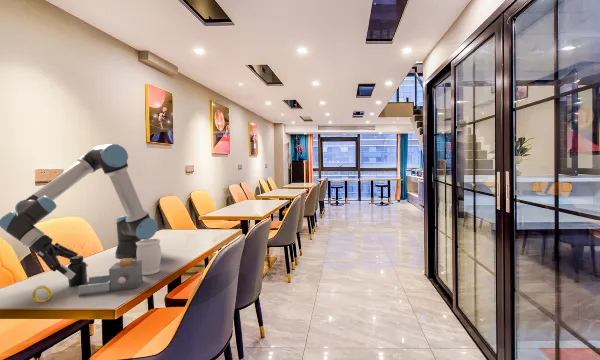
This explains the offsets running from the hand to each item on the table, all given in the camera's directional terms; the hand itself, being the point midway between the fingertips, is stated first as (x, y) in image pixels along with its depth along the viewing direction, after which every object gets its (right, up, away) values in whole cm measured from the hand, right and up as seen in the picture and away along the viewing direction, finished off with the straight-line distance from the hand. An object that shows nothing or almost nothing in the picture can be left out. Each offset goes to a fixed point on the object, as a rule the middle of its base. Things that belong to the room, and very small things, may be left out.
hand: (80, 272), depth 145 cm
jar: (+25, -4, +13) cm, 28 cm away
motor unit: (+18, -5, -7) cm, 19 cm away
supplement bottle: (-1, -6, 0) cm, 6 cm away
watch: (-3, -6, -18) cm, 19 cm away
